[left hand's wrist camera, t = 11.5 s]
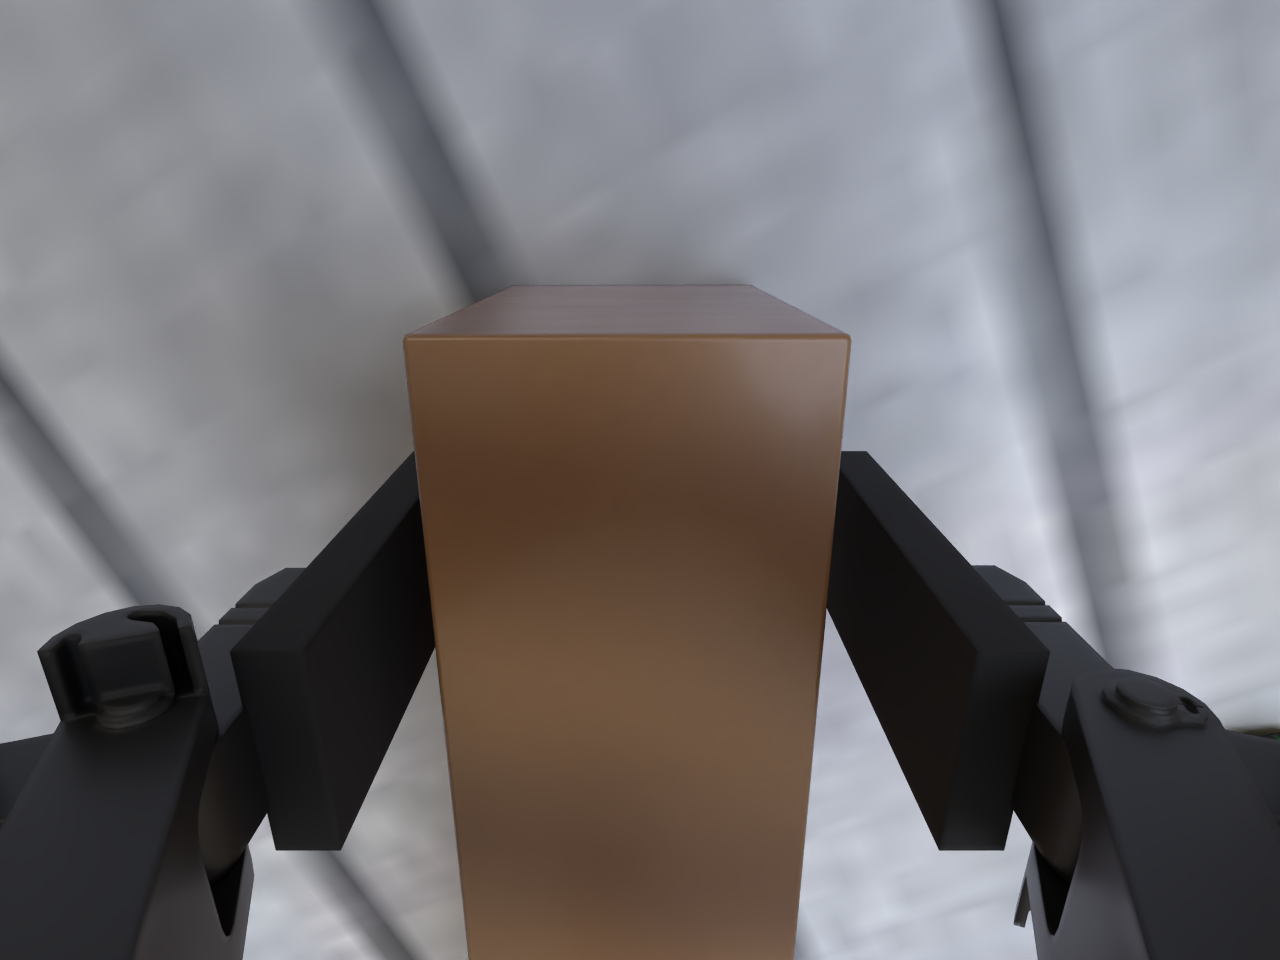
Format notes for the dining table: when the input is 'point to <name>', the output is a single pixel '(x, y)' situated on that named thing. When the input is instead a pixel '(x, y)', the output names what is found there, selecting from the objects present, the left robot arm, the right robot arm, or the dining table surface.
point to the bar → (629, 609)
